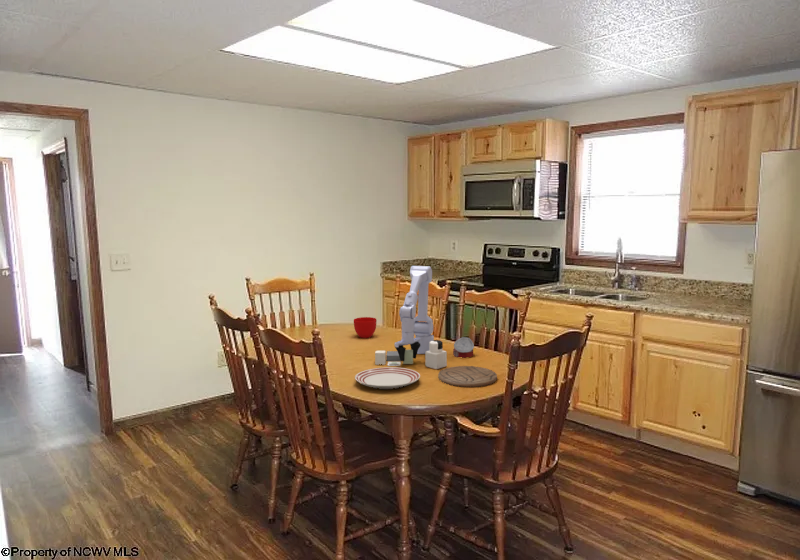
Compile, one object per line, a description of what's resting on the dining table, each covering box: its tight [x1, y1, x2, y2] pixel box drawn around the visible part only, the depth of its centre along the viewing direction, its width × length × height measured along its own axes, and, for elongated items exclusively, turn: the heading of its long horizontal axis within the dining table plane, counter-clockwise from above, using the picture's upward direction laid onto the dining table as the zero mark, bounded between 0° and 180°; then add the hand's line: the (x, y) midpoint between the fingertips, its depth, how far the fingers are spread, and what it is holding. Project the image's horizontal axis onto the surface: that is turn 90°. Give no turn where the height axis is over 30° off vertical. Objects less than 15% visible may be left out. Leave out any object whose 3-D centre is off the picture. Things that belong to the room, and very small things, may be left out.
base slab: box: [386, 350, 401, 362], centre depth 268 cm, size 8×8×3 cm
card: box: [387, 361, 402, 367], centre depth 259 cm, size 6×6×1 cm
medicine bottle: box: [424, 339, 448, 370], centre depth 254 cm, size 7×7×12 cm
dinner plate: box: [354, 366, 421, 390], centre depth 232 cm, size 27×27×3 cm
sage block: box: [402, 349, 414, 365], centre depth 260 cm, size 5×5×6 cm
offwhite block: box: [374, 350, 387, 366], centre depth 260 cm, size 5×5×6 cm
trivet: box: [437, 365, 498, 388], centre depth 237 cm, size 25×25×2 cm
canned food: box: [452, 336, 475, 359], centre depth 273 cm, size 11×10×10 cm
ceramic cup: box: [353, 316, 377, 339], centre depth 315 cm, size 13×17×10 cm
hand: (408, 359), depth 260 cm, fingers closed on sage block, 6 cm apart
